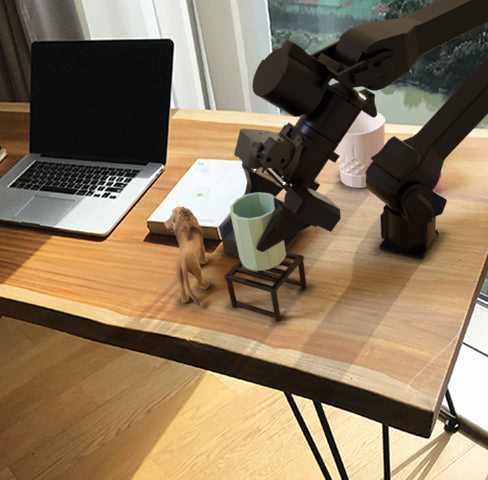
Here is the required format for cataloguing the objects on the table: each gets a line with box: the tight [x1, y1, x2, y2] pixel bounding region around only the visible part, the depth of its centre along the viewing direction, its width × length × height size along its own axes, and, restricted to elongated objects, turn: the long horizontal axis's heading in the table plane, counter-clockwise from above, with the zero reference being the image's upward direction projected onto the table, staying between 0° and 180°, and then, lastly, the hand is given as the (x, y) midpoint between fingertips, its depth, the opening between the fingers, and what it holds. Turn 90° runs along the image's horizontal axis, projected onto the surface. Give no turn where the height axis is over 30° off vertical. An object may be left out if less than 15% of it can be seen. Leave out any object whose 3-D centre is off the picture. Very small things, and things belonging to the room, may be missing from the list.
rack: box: [224, 251, 308, 322], centre depth 92 cm, size 8×8×6 cm
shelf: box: [218, 214, 302, 258], centre depth 102 cm, size 9×9×5 cm
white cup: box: [335, 111, 386, 189], centre depth 109 cm, size 8×8×10 cm
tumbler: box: [229, 192, 287, 271], centre depth 87 cm, size 6×6×8 cm
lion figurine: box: [164, 206, 210, 307], centre depth 98 cm, size 15×5×9 cm, turn 6°
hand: (249, 237), depth 87 cm, fingers closed on tumbler, 6 cm apart
